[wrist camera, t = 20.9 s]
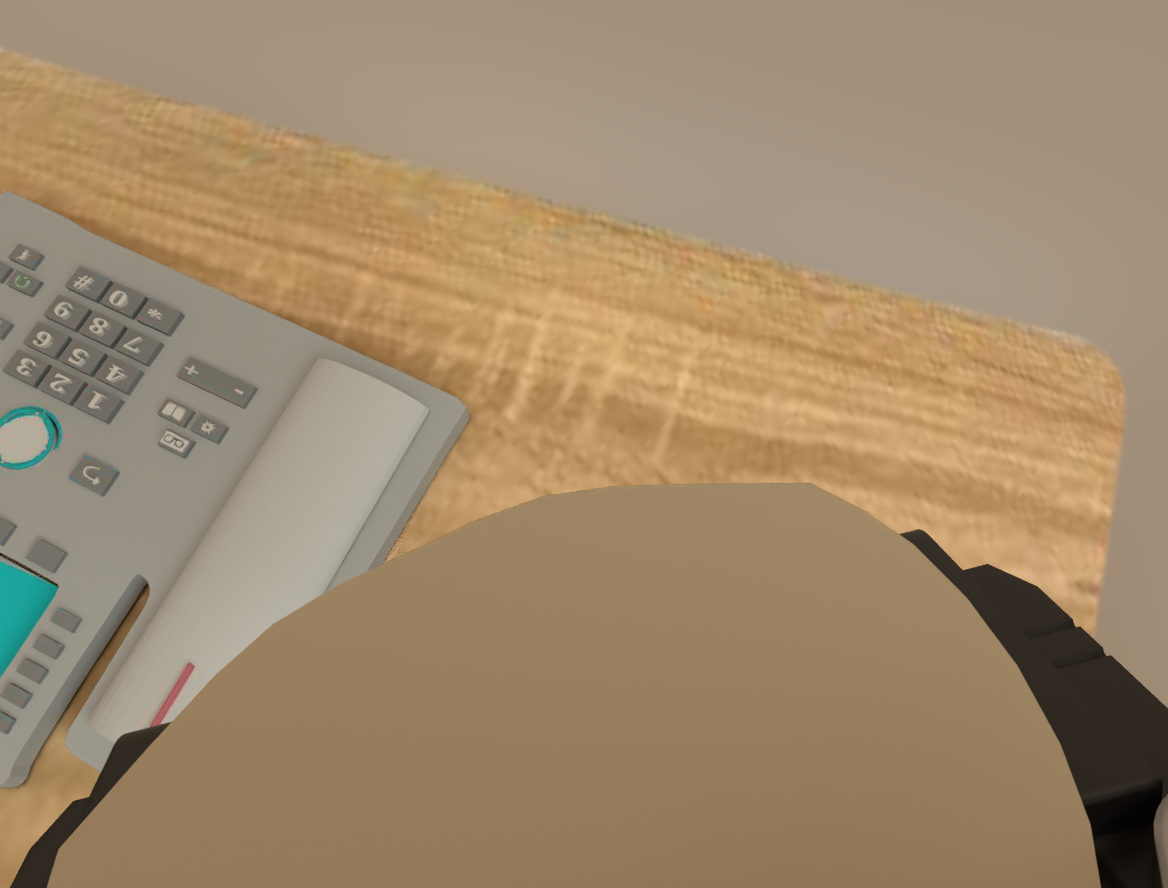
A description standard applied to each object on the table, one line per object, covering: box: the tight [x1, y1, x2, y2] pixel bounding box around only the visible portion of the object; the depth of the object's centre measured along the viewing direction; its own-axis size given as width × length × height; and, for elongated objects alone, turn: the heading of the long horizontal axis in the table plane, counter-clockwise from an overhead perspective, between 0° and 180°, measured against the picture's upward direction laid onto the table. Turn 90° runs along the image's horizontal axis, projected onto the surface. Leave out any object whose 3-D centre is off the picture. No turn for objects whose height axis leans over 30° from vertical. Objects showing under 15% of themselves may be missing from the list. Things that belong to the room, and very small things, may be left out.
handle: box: [47, 483, 1101, 888], centre depth 13 cm, size 5×6×15 cm
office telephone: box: [0, 191, 470, 788], centre depth 36 cm, size 23×3×20 cm
